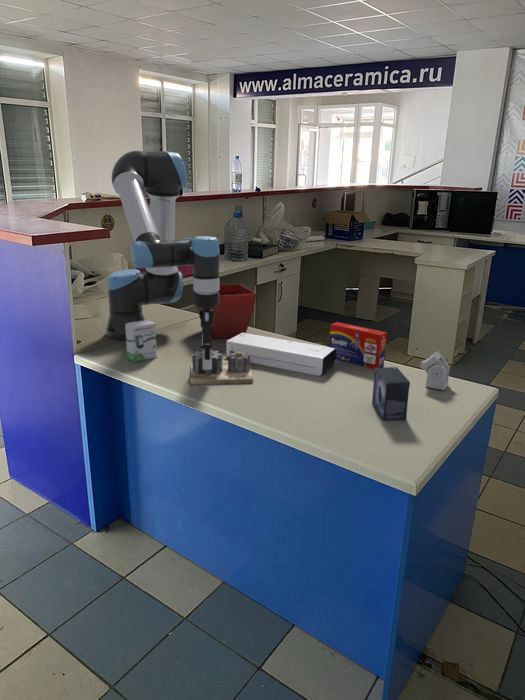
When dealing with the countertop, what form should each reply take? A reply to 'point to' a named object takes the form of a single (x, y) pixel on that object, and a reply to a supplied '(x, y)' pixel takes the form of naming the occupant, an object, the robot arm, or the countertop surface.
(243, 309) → the plant pot
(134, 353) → the ink box
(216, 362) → the planet gear
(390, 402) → the small box
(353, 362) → the toy box
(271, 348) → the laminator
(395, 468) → the countertop surface
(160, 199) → the robot arm
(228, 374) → the gear puzzle board
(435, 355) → the mechanical component
